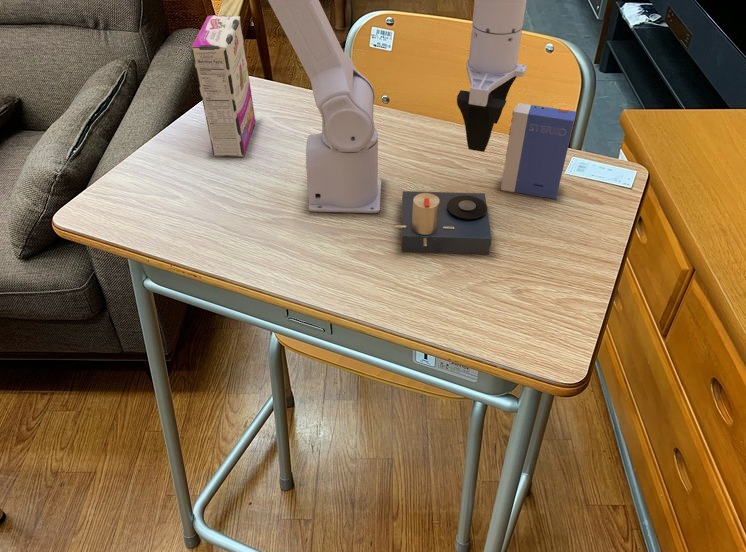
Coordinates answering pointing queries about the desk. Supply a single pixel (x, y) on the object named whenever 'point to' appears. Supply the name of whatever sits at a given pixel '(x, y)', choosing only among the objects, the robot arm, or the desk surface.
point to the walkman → (537, 149)
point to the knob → (425, 213)
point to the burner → (466, 208)
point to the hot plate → (445, 229)
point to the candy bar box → (224, 85)
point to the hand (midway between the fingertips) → (483, 135)
